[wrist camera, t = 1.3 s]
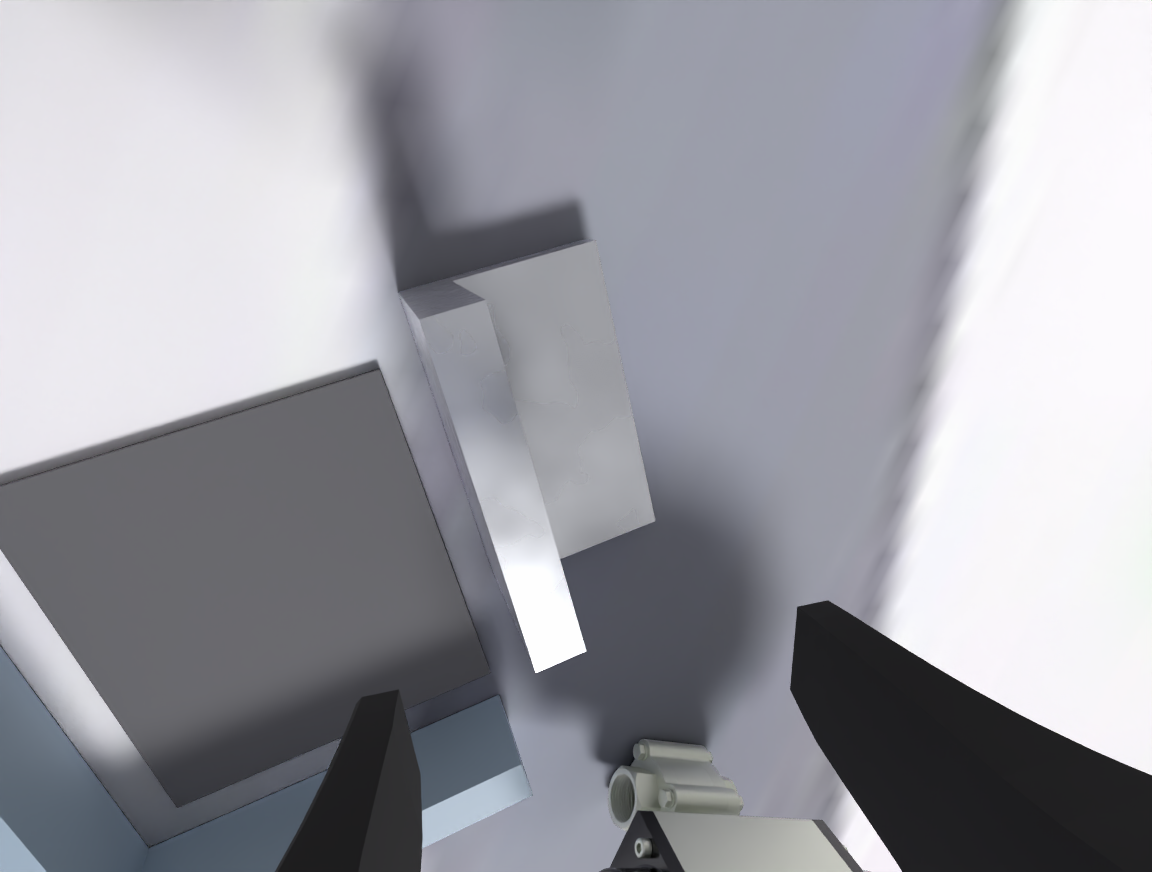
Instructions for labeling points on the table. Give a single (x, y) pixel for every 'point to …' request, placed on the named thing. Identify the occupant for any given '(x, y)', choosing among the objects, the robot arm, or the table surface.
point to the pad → (247, 581)
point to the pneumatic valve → (706, 821)
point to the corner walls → (233, 841)
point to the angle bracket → (535, 424)
